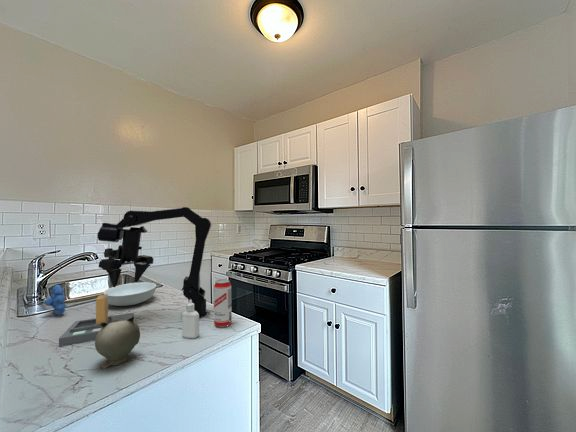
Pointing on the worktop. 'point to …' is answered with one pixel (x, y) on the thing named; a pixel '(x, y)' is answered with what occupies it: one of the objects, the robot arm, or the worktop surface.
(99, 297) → the switch tab
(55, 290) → the grapes
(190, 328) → the eye dropper bottle
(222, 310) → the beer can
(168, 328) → the worktop surface
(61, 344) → the switch housing
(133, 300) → the serving bowl
